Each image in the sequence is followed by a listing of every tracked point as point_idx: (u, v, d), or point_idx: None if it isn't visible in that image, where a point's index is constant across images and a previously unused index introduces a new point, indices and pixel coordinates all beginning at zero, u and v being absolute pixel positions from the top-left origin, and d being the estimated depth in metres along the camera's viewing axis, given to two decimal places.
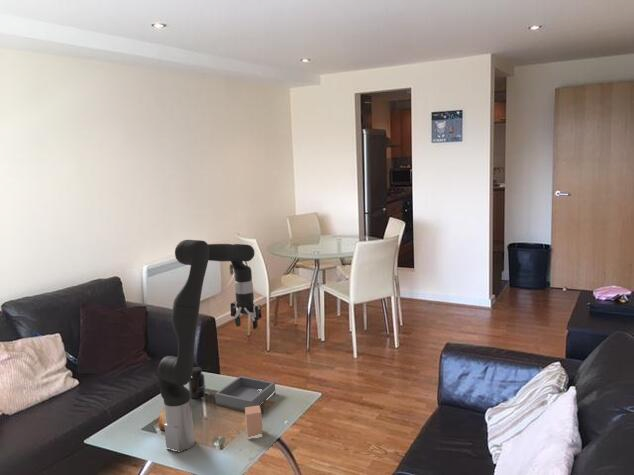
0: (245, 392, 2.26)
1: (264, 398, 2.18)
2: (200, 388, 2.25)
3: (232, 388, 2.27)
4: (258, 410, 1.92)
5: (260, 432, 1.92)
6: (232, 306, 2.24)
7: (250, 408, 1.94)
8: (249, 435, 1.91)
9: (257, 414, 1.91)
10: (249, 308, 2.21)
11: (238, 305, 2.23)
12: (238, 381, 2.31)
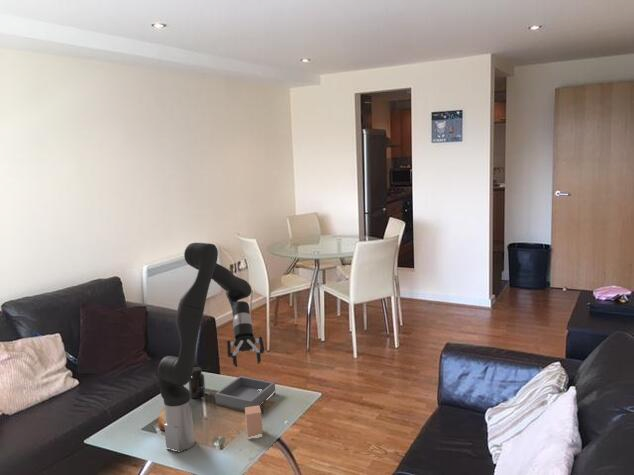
0: (245, 392, 2.26)
1: (264, 398, 2.18)
2: (200, 388, 2.25)
3: (232, 388, 2.27)
4: (258, 410, 1.92)
5: (260, 432, 1.92)
6: (229, 343, 2.05)
7: (250, 408, 1.94)
8: (249, 435, 1.91)
9: (257, 414, 1.91)
10: (252, 341, 2.07)
11: (237, 341, 2.06)
12: (238, 381, 2.31)
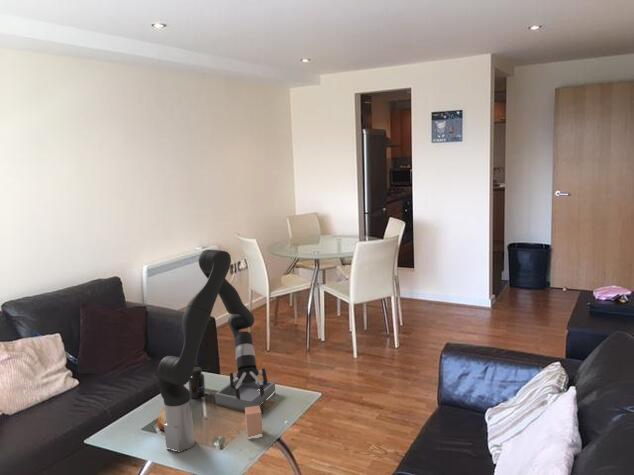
0: (245, 392, 2.26)
1: (264, 398, 2.18)
2: (200, 388, 2.25)
3: None
4: (258, 410, 1.92)
5: (260, 432, 1.92)
6: (232, 376, 2.02)
7: (250, 408, 1.94)
8: (249, 435, 1.91)
9: (257, 414, 1.91)
10: (255, 373, 2.04)
11: (240, 373, 2.03)
12: None
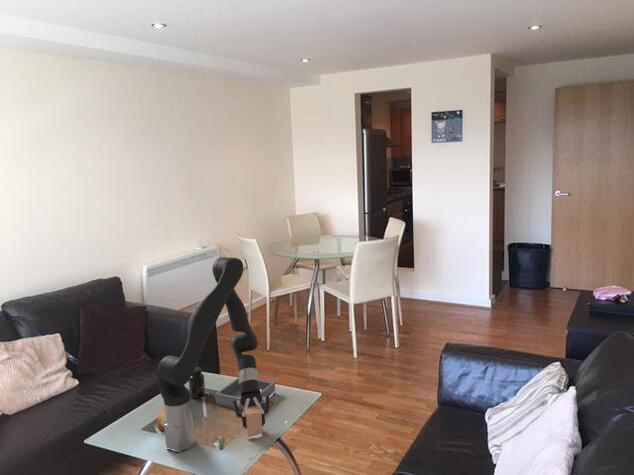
0: None
1: None
2: (200, 388, 2.25)
3: (232, 388, 2.27)
4: (258, 410, 1.92)
5: (260, 432, 1.92)
6: (236, 403, 1.95)
7: (250, 408, 1.94)
8: (249, 435, 1.91)
9: (257, 414, 1.91)
10: (258, 399, 1.97)
11: (243, 398, 1.96)
12: (238, 381, 2.31)
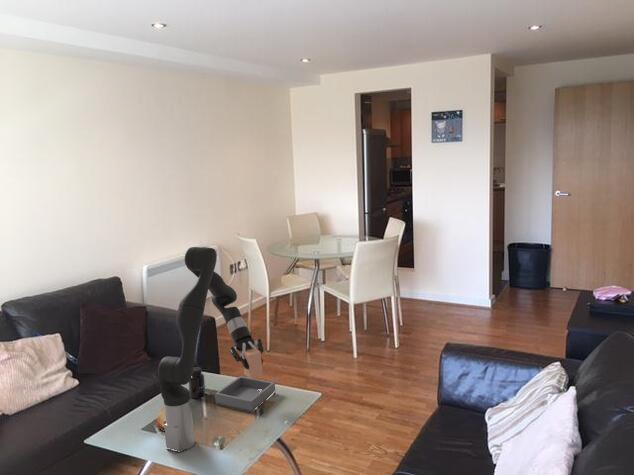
0: (245, 392, 2.26)
1: (264, 398, 2.18)
2: (200, 388, 2.25)
3: (232, 388, 2.27)
4: (257, 351, 2.12)
5: (260, 370, 2.12)
6: (234, 349, 2.12)
7: (248, 351, 2.13)
8: (251, 374, 2.10)
9: (257, 354, 2.11)
10: (252, 343, 2.17)
11: (239, 344, 2.14)
12: (238, 381, 2.31)
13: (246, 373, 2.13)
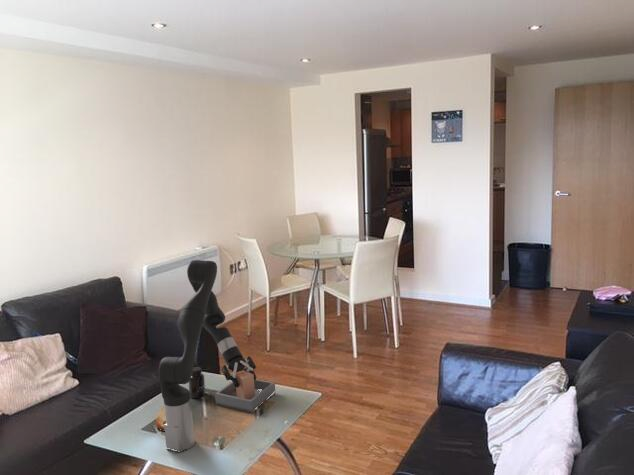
0: None
1: (264, 398, 2.18)
2: (200, 388, 2.25)
3: (232, 388, 2.27)
4: (250, 374, 2.21)
5: (253, 392, 2.21)
6: (226, 367, 2.19)
7: (241, 374, 2.21)
8: (245, 397, 2.19)
9: (250, 376, 2.20)
10: (243, 361, 2.25)
11: (231, 364, 2.21)
12: None
13: (239, 396, 2.21)
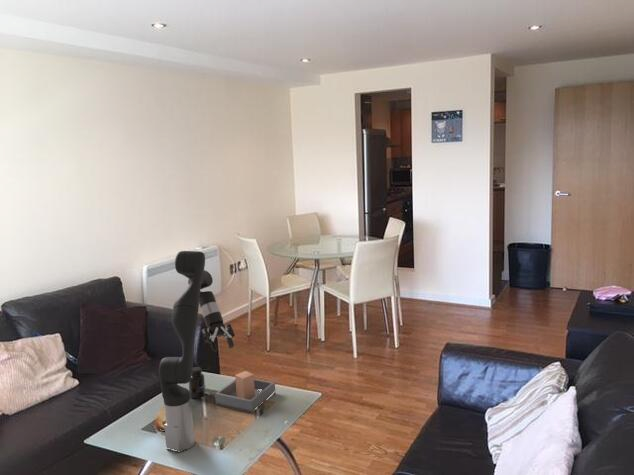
0: None
1: (264, 398, 2.18)
2: (200, 388, 2.25)
3: (232, 388, 2.27)
4: (250, 374, 2.21)
5: (253, 392, 2.21)
6: (207, 330, 2.22)
7: (241, 374, 2.21)
8: (245, 397, 2.19)
9: (250, 376, 2.20)
10: (223, 327, 2.28)
11: (212, 328, 2.25)
12: None
13: (239, 396, 2.21)
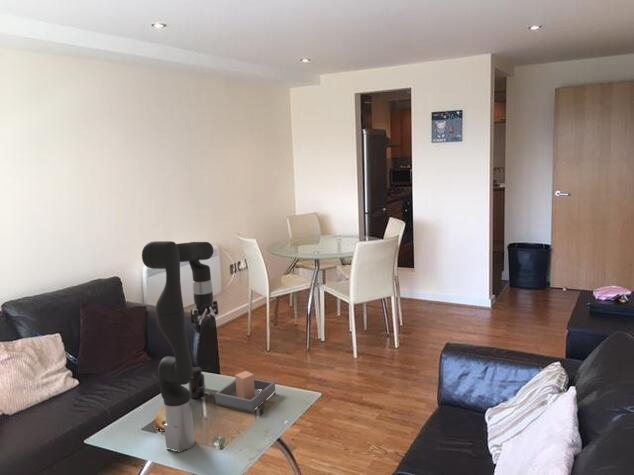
0: None
1: (264, 398, 2.18)
2: (200, 388, 2.25)
3: (232, 388, 2.27)
4: (250, 374, 2.21)
5: (253, 392, 2.21)
6: (197, 312, 2.05)
7: (241, 374, 2.21)
8: (245, 397, 2.19)
9: (250, 376, 2.20)
10: (210, 306, 2.13)
11: (201, 308, 2.08)
12: None
13: (239, 396, 2.21)
